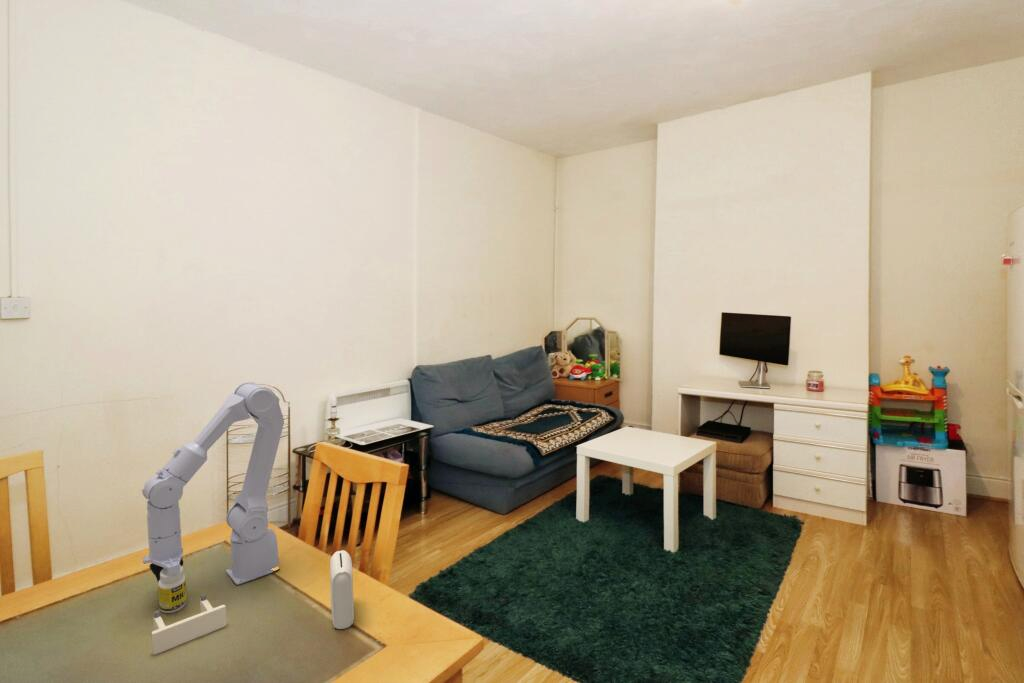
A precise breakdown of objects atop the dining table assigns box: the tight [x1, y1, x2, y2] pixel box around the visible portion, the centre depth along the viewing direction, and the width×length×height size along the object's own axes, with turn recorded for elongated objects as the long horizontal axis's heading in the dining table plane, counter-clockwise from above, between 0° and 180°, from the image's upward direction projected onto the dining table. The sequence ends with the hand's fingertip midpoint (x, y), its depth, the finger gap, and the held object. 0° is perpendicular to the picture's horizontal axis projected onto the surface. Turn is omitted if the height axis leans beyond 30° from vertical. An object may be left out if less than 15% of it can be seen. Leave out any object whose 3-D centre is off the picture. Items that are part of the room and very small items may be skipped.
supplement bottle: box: [157, 565, 187, 614], centre depth 109 cm, size 5×5×8 cm
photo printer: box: [329, 549, 355, 630], centre depth 107 cm, size 10×4×12 cm, turn 20°
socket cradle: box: [151, 593, 227, 656], centre depth 102 cm, size 12×8×4 cm, turn 134°
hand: (168, 594), depth 112 cm, fingers closed
